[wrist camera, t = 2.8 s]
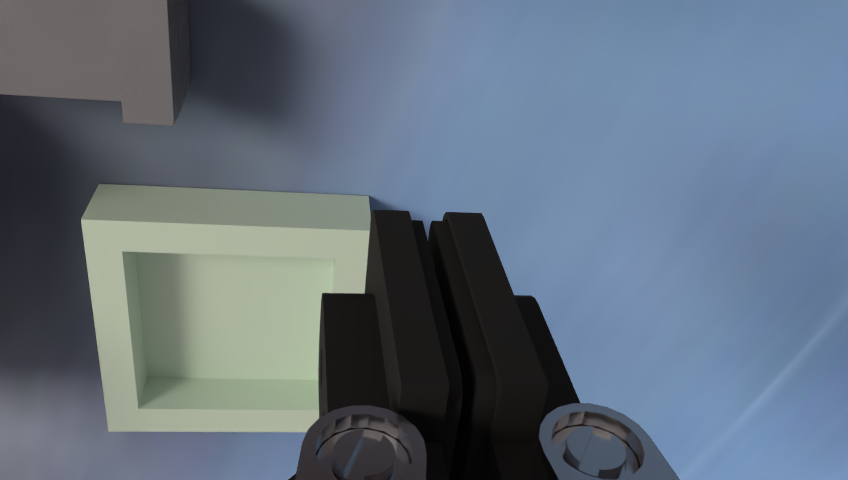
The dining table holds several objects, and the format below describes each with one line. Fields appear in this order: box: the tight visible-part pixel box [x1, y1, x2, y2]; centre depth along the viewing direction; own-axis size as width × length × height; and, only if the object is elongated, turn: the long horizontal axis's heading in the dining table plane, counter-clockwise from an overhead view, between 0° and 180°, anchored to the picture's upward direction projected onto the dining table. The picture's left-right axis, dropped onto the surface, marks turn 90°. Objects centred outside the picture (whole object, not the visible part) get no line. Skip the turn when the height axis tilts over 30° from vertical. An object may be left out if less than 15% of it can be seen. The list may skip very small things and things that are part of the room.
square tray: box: [81, 184, 371, 432], centre depth 26 cm, size 8×8×2 cm
